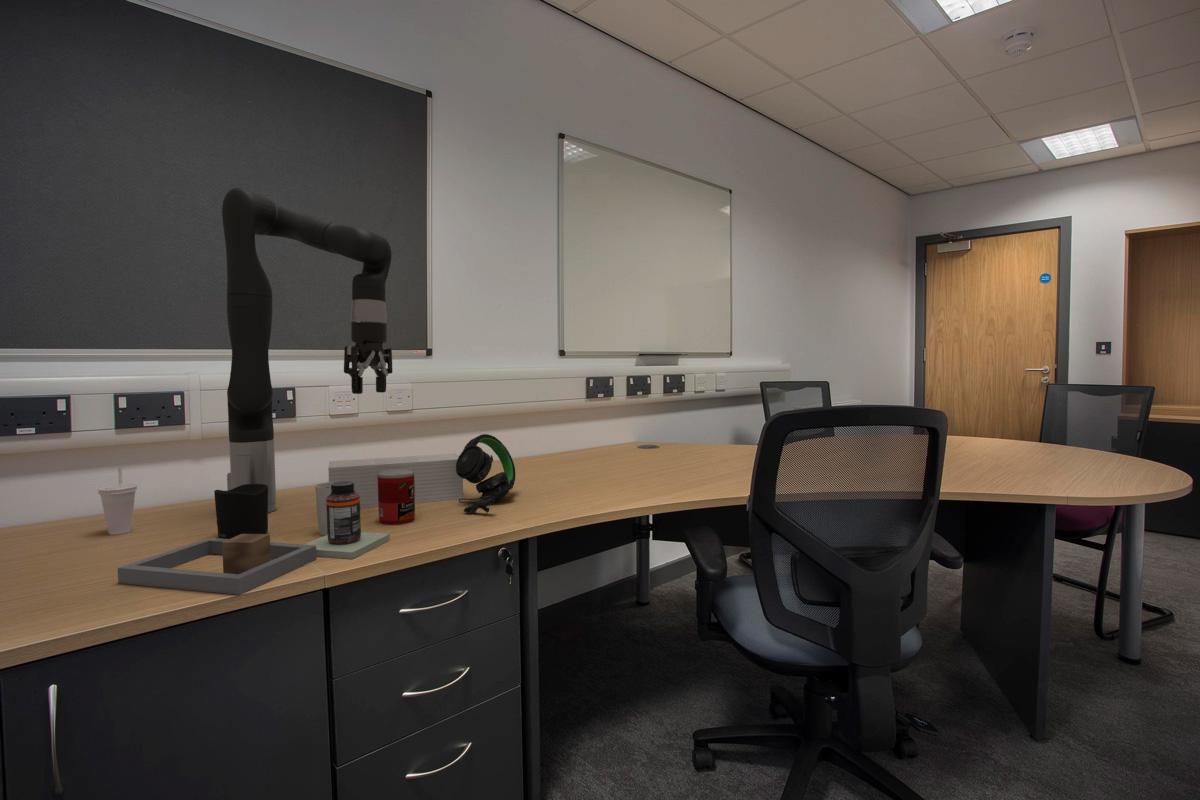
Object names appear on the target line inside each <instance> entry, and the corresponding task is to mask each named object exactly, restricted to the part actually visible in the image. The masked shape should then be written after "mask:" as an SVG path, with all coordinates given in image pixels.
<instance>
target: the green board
mask: <svg viewBox="0 0 1200 800" xmlns="http://www.w3.org/2000/svg"><path fill="white" fill-rule="evenodd" d="M390 540H391V533H378V532H366V531H361V537H360V539H359V540H357V541H355V542H352V543H348V544H332V543H330V542H329V541H328V535H322V536H321V537H319V538H317V539H314V540H312V541H309V542H307V543H304V544H303V545H316V557H325V558H334V559H335V558H336V559H348V560H350V559H351V560H353V559H355V558H357V557H360V556H361V555H363V554H365V553H367V552H370V551H372V550H373V549H375V548H377V547H379V546H381V545H382V544H385V543H386V542H389V541H390Z"/></svg>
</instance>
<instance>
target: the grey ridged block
mask: <svg viewBox="0 0 1200 800" xmlns="http://www.w3.org/2000/svg"><path fill="white" fill-rule="evenodd" d="M459 456H460V455H458V454H457V453H444V454H443V453H441V454H428V455H427V454H426V455H412V456H411V455H410V456H408V455H407V456H394V457H393V456H392V457H380V458H379V457H377V458H364V459H363V458H362V459H346V460H329V461H328V482H339V481H352V482H354V491H355V492H357V493H358V494H359V497H360V509H363V508H364V509H365V508H366V507H367V508H377V507H378V473H379V472H382V471H386V470H397V469H405V470H412V471H414V486H415V504H421V503H430V502H440V501H451V500H452V501H453V500H454V501H455V500H459V499H461V498H464V479H463V478H461V477H459V476H458V475H457V472H456V463H457V460H458V457H459ZM367 508H366V509H367Z"/></svg>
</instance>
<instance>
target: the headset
mask: <svg viewBox="0 0 1200 800" xmlns="http://www.w3.org/2000/svg"><path fill="white" fill-rule="evenodd" d="M479 443H480V444H484V445H486V446H488V447H489V448H490V449H491V450H492V451H493V452H494V453H495V455H496V456H497V457H498V459H499V461H500V463H501V465H502V468H503V471H501V472H499V473H496V474H494V475H492V476H490V477H488V478H486V477H487V476H488V475H489V473H490V472H491V470H492V464H493V462H494V457H493V455H492V454H490V455H489V453H487V452H485V451H484V450H483V448H481V447H480V446H478V444H479ZM458 456H459V457H458V460H457V463H456V472H457V475H458V476H459V477H461V478H463V480H466V481H467V482H468V483H471V484H476V485H475V488H476V491H477V493H478V494H481V496H479V497H476V498H474V497H473V498H464V497H463V498H461V499H458V502H459V503H463V504H464V503H466V501H467V507H465V508H464V509H463V512H464V513H468V514H475V513H476V512H477V511H478V510H479V509H481V510H483V511H484V512H486V514H488V513H489V512H490V507H489V506H491V505H493V504H494V503H495V502H496V501H498V500H501V499H503V498H505V497H506V496H507V494H508V493H509V492H510V490H513V489H514V486H515V481H516V466H515V463H514V460H513V457H512V456H511V454H510V451H509V450H508V449H507V447H506V446H505V445H504V444H503V443H502V441H500V440H499V439H498V438H497V437H496V436H493V435H491V434H487V433H484V434H483V433H482V434H479V435H478V436H476V437H474V438H472V439H470V440H469V441H468V442H467V443H466V445H465V446H464V448H463V450H462V451H461V453H460V454H459V455H458ZM461 500H462V501H461ZM463 500H464V501H463ZM473 500H479V501H473Z"/></svg>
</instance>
